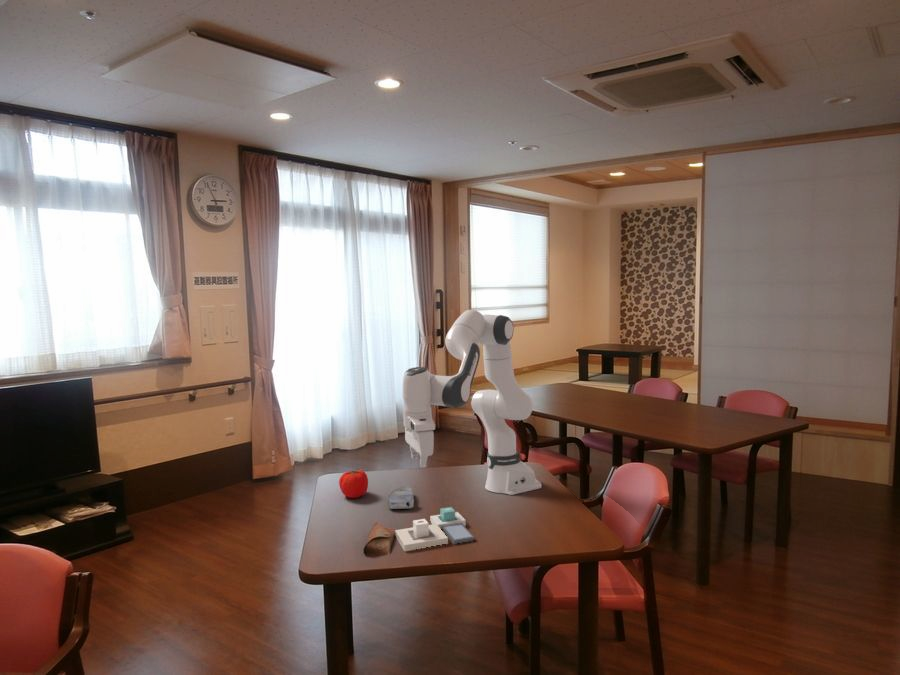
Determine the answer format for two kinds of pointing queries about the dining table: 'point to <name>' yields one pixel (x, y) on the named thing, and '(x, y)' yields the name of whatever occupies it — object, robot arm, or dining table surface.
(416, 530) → the charger
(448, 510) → the teal small block
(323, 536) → the dining table surface
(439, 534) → the outlet plate
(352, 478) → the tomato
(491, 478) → the robot arm
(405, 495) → the handheld device
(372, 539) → the sunglasses case
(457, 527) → the phone dock
